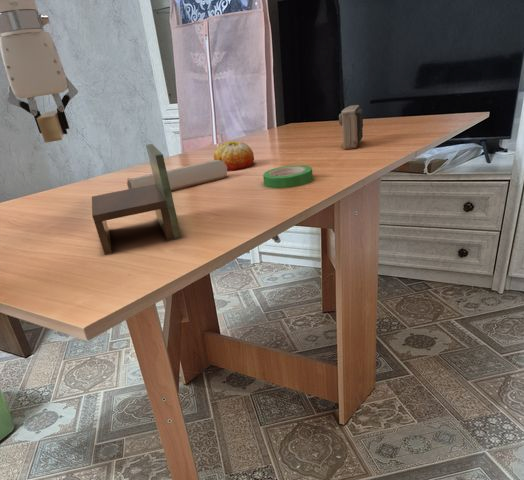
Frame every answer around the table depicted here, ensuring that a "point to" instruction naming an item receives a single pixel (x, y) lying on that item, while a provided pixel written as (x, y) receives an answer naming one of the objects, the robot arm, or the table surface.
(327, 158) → the table surface
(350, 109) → the camera
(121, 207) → the miniature wooden chair
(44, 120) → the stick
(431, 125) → the table surface
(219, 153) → the fruit
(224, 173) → the tube
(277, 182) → the tape roll
